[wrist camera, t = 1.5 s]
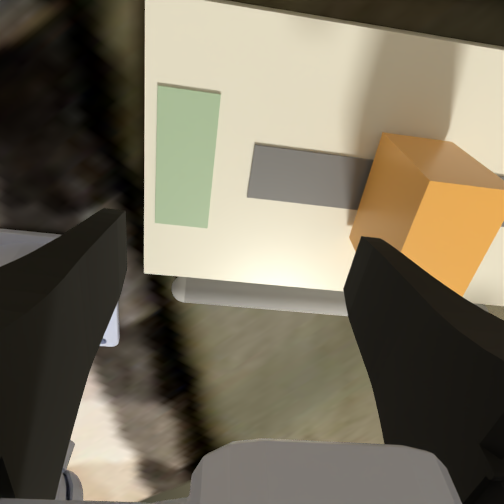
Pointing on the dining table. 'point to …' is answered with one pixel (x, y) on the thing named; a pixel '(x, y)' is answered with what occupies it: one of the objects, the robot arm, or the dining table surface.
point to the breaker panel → (295, 136)
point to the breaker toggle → (431, 206)
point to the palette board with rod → (261, 296)
